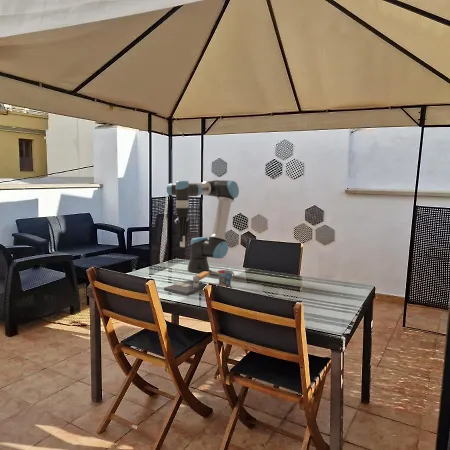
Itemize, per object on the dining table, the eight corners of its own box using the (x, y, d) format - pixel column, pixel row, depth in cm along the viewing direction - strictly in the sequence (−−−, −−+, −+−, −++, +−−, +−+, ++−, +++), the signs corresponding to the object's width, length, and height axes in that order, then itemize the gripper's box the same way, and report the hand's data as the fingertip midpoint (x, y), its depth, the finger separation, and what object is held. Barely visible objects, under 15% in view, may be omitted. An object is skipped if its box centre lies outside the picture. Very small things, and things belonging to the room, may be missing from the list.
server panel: (189, 282, 235) (189, 274, 234) (210, 287, 226) (210, 278, 225) (164, 290, 217) (164, 281, 216) (186, 295, 208) (186, 286, 207)
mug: (224, 293, 215) (224, 274, 213) (213, 289, 221) (213, 271, 220) (239, 289, 223) (239, 271, 222) (228, 286, 230) (228, 268, 228)
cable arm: (209, 275, 231) (209, 270, 231) (197, 282, 215) (197, 277, 215) (203, 275, 232) (203, 270, 232) (191, 281, 216) (192, 276, 216)
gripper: (184, 206, 233) (184, 244, 237) (170, 207, 222) (170, 247, 226) (194, 206, 229) (194, 245, 233) (180, 208, 218) (180, 249, 222)
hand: (182, 246), depth 229 cm, fingers closed
